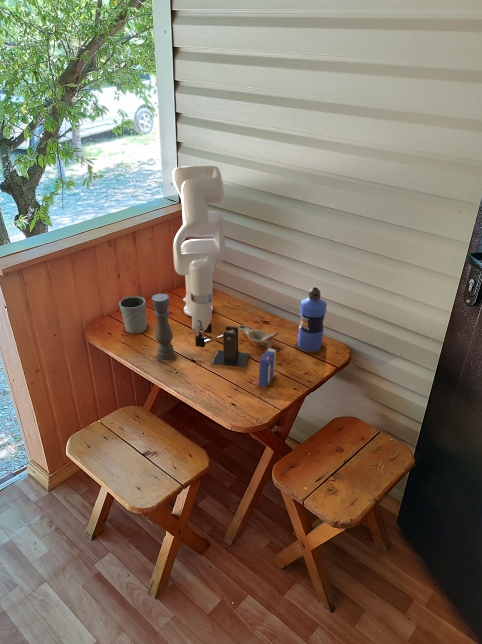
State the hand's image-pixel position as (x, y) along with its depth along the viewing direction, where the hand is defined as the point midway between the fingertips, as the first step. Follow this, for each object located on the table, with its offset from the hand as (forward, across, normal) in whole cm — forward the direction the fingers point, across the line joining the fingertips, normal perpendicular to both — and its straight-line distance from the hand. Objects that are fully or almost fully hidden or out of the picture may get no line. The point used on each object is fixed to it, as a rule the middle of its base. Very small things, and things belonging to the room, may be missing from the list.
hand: (203, 339), depth 171 cm
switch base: (+8, 0, +10) cm, 13 cm away
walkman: (+9, +10, +25) cm, 28 cm away
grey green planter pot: (+8, -16, -33) cm, 38 cm away
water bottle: (+8, -15, +37) cm, 41 cm away
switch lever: (0, 0, +6) cm, 6 cm away
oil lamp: (+8, -15, +17) cm, 24 cm away
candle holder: (+8, +2, -14) cm, 17 cm away
